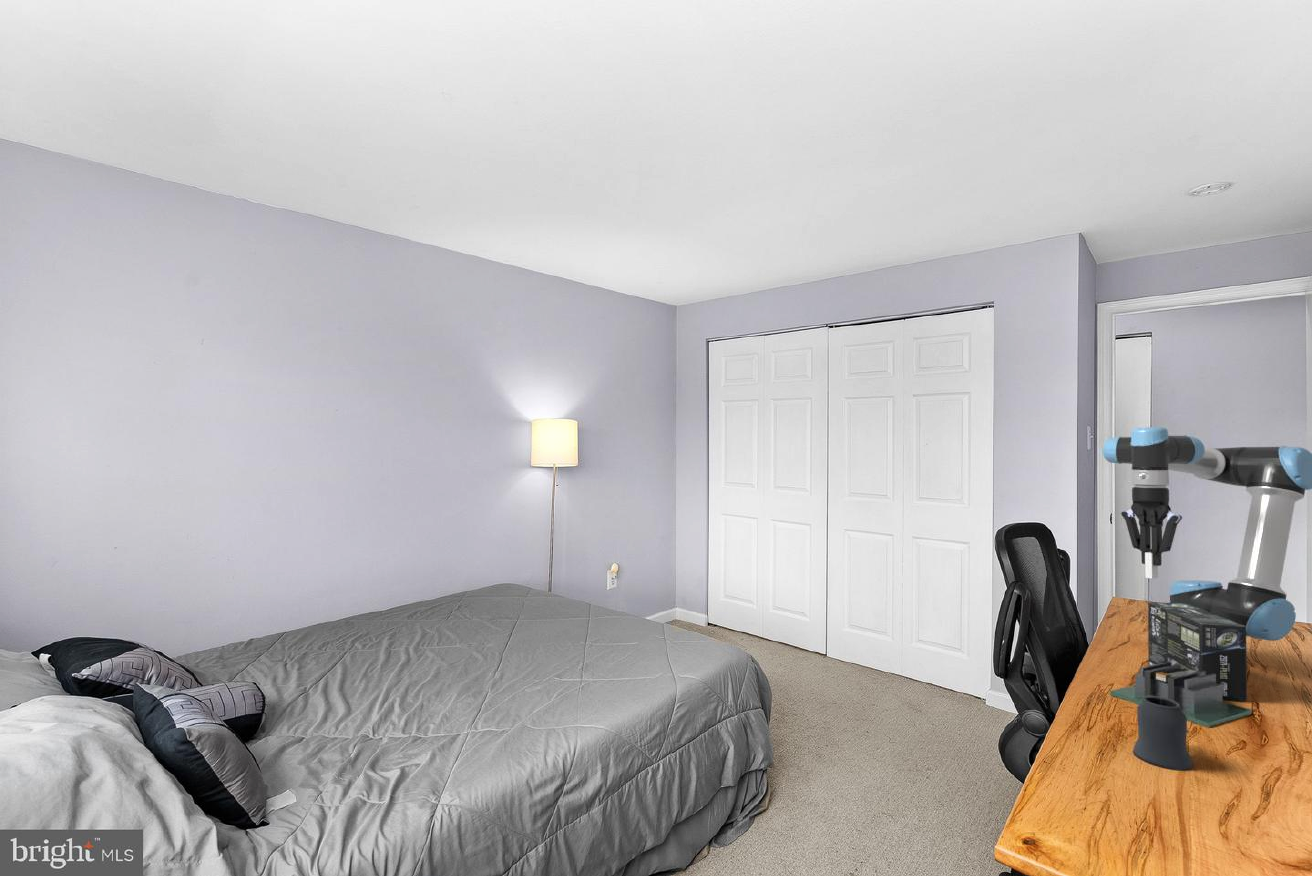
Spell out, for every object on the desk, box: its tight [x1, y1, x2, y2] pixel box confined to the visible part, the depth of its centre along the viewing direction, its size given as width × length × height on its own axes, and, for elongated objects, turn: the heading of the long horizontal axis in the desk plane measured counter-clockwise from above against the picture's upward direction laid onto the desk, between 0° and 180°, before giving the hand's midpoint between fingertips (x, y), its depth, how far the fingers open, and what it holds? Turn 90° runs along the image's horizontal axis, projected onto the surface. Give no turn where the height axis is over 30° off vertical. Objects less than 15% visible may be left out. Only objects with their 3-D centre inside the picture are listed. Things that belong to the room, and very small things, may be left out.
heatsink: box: [1109, 662, 1252, 728], centre depth 148 cm, size 18×20×8 cm
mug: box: [1132, 696, 1194, 772], centre depth 122 cm, size 12×9×11 cm
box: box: [1147, 601, 1248, 703], centre depth 162 cm, size 23×10×19 cm, turn 168°
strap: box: [1156, 669, 1198, 682], centre depth 148 cm, size 16×3×2 cm, turn 114°
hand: (1151, 577), depth 159 cm, fingers closed
